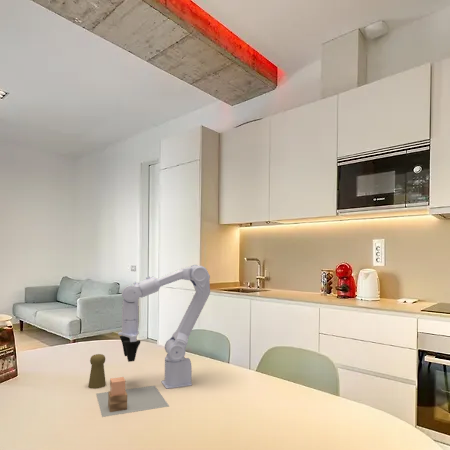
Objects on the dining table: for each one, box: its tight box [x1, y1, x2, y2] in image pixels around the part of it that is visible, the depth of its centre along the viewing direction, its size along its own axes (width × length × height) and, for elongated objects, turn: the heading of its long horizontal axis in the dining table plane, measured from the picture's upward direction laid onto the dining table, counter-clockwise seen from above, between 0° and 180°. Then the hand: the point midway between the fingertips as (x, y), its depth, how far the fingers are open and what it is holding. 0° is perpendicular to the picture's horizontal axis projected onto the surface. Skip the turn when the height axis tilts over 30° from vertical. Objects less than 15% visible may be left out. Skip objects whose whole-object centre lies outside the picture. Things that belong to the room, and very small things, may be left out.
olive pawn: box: [88, 353, 107, 390], centre depth 137 cm, size 6×6×11 cm
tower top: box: [107, 390, 127, 405], centre depth 118 cm, size 5×5×2 cm
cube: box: [109, 376, 126, 396], centre depth 118 cm, size 4×4×4 cm
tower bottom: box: [108, 400, 127, 412], centre depth 118 cm, size 5×5×2 cm
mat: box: [95, 385, 170, 418], centre depth 124 cm, size 20×20×1 cm
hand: (129, 358), depth 135 cm, fingers open, 7 cm apart
